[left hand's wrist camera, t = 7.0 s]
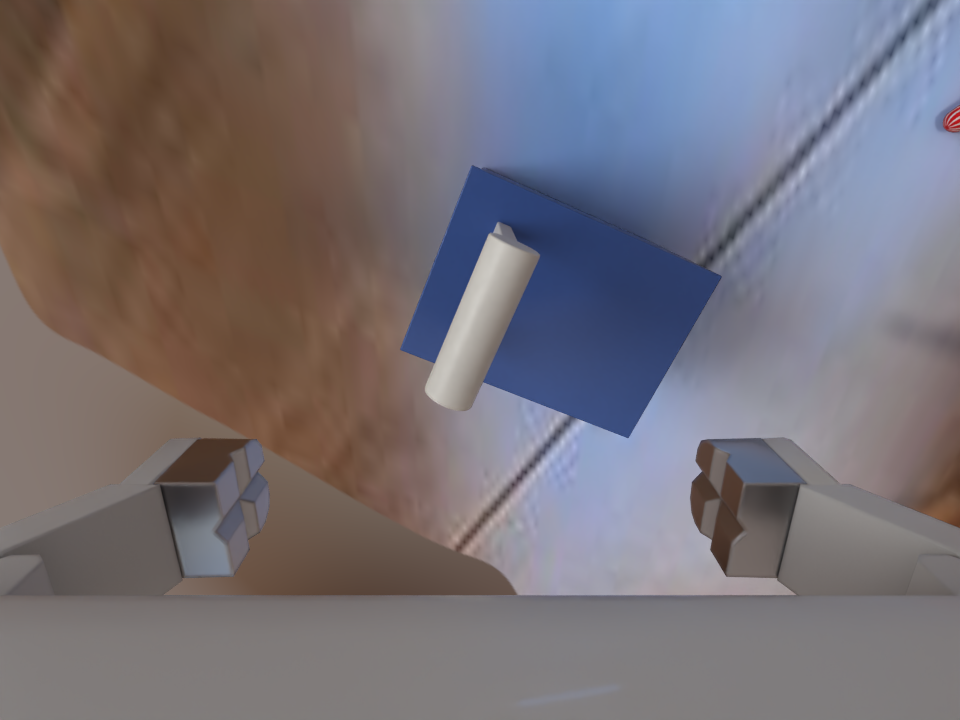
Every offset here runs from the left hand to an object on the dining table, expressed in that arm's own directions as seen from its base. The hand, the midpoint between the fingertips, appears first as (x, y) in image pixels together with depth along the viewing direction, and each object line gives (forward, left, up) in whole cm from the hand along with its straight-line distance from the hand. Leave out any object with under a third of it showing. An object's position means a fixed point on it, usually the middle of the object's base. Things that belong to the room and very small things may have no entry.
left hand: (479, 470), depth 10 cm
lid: (-3, +3, -18) cm, 18 cm away
